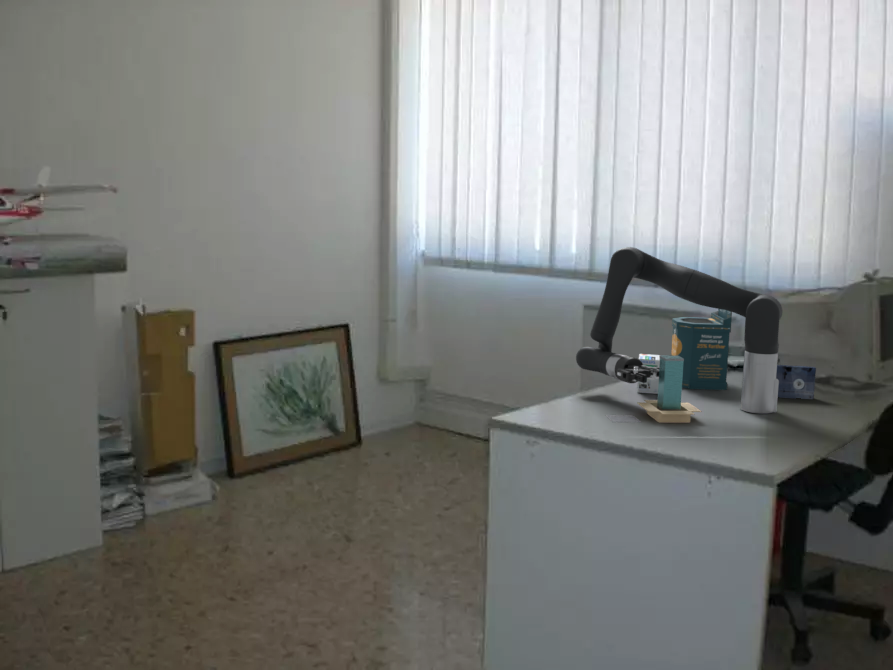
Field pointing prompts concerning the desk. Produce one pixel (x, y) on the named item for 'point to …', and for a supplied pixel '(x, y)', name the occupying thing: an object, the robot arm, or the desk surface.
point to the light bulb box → (651, 385)
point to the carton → (669, 412)
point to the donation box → (703, 349)
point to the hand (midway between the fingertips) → (658, 378)
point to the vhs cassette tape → (796, 381)
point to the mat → (623, 418)
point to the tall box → (670, 383)
